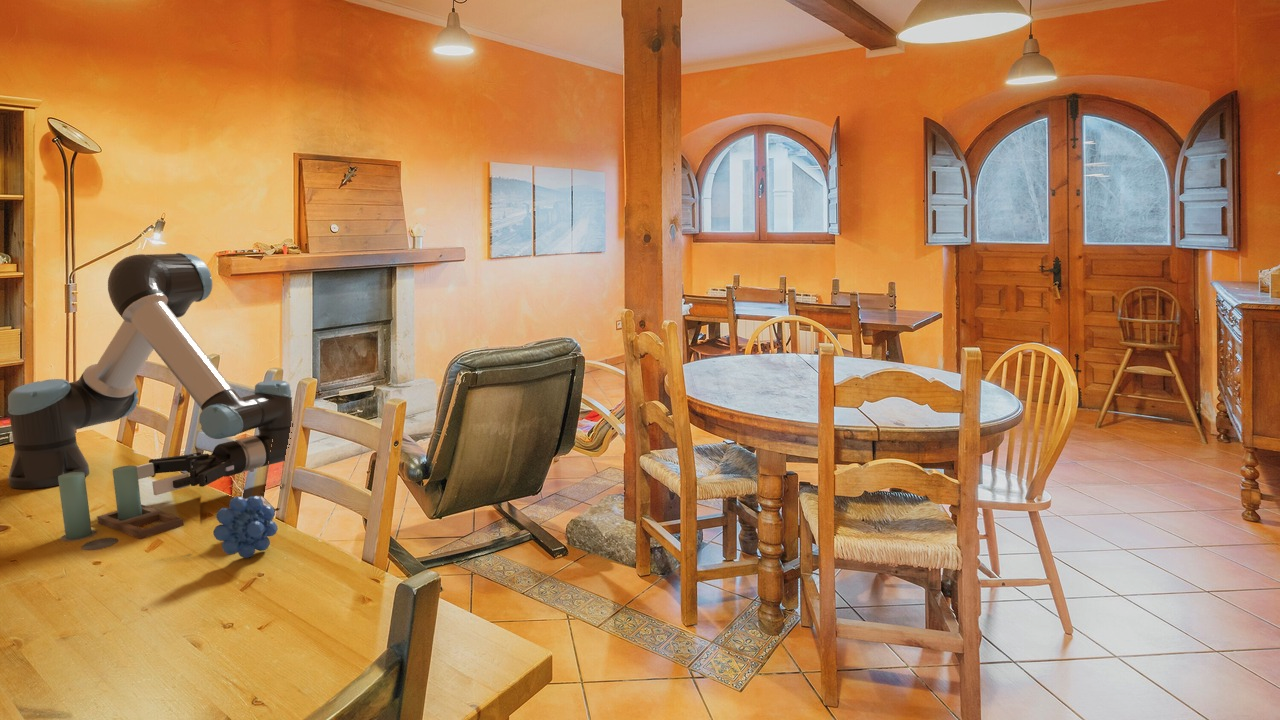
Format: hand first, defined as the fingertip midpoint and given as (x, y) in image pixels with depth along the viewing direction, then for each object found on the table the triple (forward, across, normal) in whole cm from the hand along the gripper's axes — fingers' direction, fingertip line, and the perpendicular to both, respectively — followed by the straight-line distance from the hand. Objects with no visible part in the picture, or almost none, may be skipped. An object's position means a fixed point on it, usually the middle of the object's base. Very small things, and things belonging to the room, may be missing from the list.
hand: (135, 482), depth 149 cm
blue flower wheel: (-2, -35, -9) cm, 37 cm away
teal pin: (+2, 0, -9) cm, 9 cm away
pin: (+11, 0, -7) cm, 13 cm away
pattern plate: (+10, -4, -9) cm, 13 cm away
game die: (-8, -26, -9) cm, 28 cm away
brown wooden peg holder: (+2, -4, -9) cm, 9 cm away
